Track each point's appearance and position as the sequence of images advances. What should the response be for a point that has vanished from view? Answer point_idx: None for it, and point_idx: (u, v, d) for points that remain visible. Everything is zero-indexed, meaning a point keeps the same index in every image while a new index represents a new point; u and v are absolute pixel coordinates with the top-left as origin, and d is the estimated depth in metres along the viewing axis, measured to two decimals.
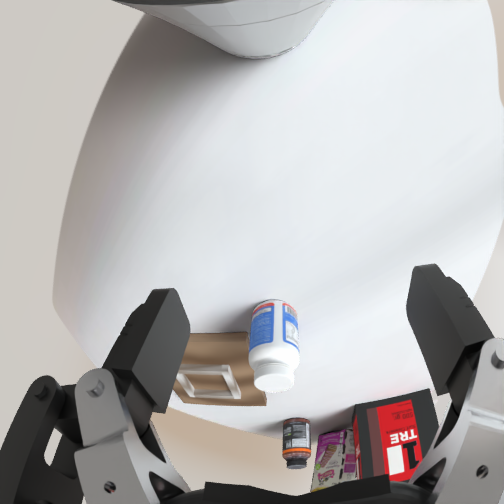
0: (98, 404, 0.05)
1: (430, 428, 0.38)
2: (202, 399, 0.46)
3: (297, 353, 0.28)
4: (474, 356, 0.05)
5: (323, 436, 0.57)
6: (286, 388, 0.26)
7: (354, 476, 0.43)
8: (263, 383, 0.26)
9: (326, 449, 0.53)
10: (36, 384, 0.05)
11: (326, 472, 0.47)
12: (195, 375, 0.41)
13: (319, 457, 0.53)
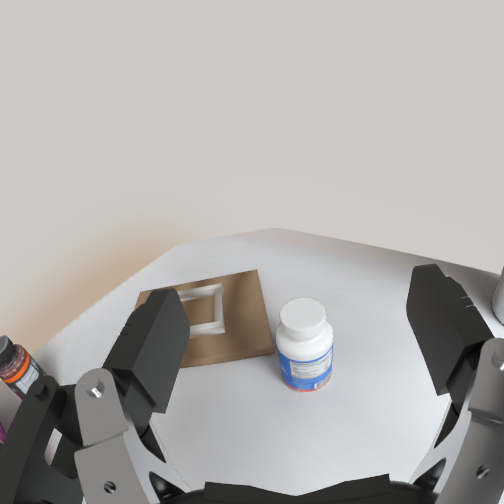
0: (98, 404, 0.05)
1: None
2: None
3: (321, 352, 0.23)
4: (474, 356, 0.05)
5: None
6: (292, 324, 0.23)
7: None
8: (302, 304, 0.25)
9: None
10: (36, 384, 0.05)
11: None
12: (201, 305, 0.40)
13: None
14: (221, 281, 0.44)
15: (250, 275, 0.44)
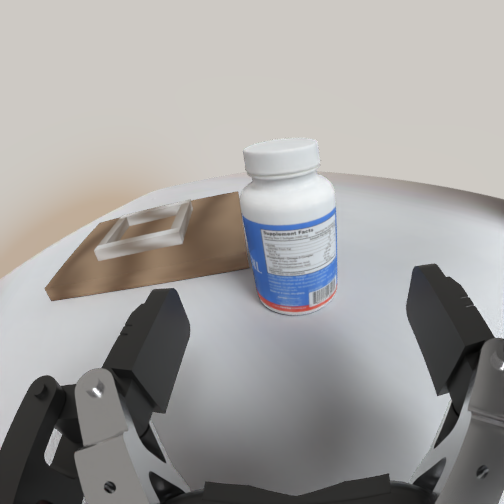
0: (98, 404, 0.05)
1: None
2: (100, 233, 0.32)
3: (315, 209, 0.14)
4: (474, 356, 0.05)
5: None
6: (261, 150, 0.13)
7: None
8: (280, 140, 0.15)
9: None
10: (35, 384, 0.05)
11: None
12: (161, 223, 0.30)
13: None
14: (192, 203, 0.35)
15: (229, 196, 0.35)
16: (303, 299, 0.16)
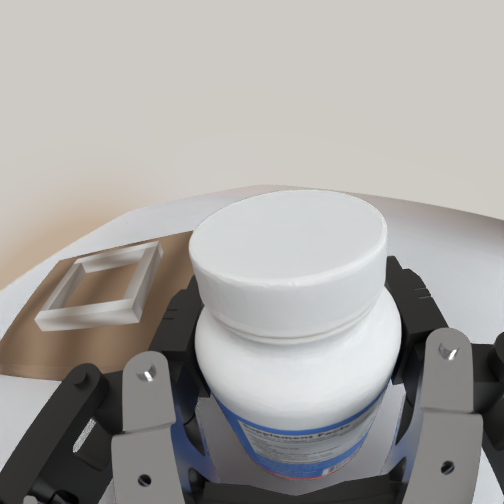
0: (146, 389, 0.05)
1: None
2: (55, 280, 0.23)
3: (364, 398, 0.05)
4: (423, 345, 0.06)
5: None
6: (232, 262, 0.05)
7: None
8: (287, 201, 0.06)
9: None
10: (77, 372, 0.06)
11: None
12: (121, 275, 0.22)
13: None
14: (165, 242, 0.26)
15: None
16: (313, 474, 0.07)
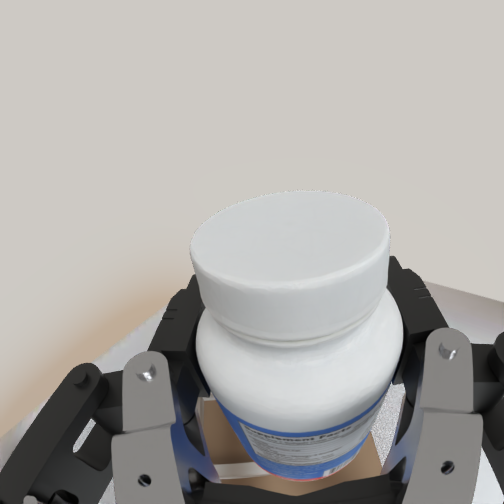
0: (146, 389, 0.05)
1: None
2: None
3: (366, 400, 0.05)
4: (423, 345, 0.06)
5: None
6: (234, 264, 0.05)
7: None
8: (289, 202, 0.06)
9: None
10: (77, 372, 0.06)
11: None
12: None
13: None
14: None
15: None
16: (314, 475, 0.07)
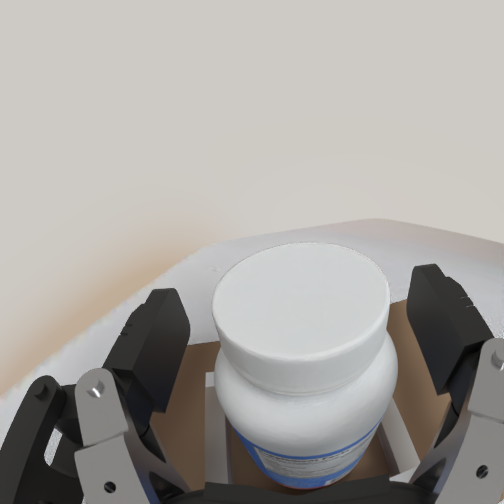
0: (97, 404, 0.05)
1: None
2: None
3: (362, 431, 0.05)
4: (474, 356, 0.05)
5: None
6: (254, 334, 0.05)
7: None
8: (300, 259, 0.07)
9: None
10: (36, 384, 0.05)
11: None
12: None
13: None
14: None
15: None
16: (316, 485, 0.08)
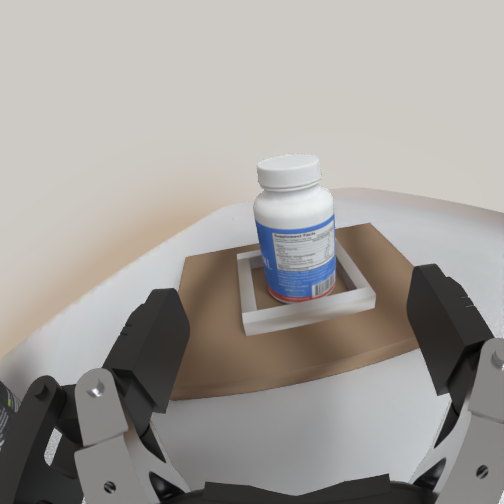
0: (97, 405, 0.05)
1: None
2: (204, 278, 0.25)
3: (317, 216, 0.16)
4: (474, 356, 0.05)
5: None
6: (273, 167, 0.16)
7: None
8: (287, 157, 0.18)
9: None
10: (36, 384, 0.05)
11: None
12: None
13: None
14: None
15: (366, 229, 0.28)
16: (307, 291, 0.19)
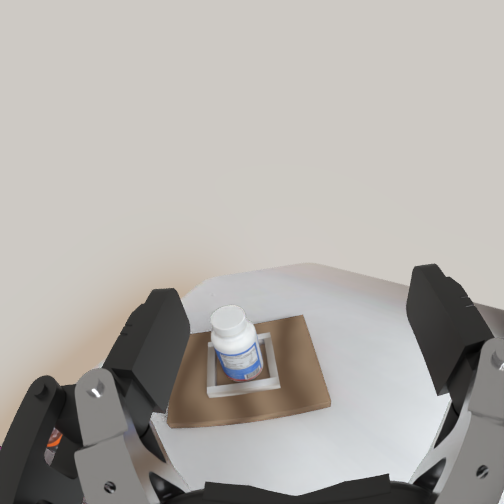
0: (97, 404, 0.05)
1: None
2: (189, 355, 0.39)
3: (242, 348, 0.30)
4: (474, 356, 0.05)
5: None
6: (217, 325, 0.30)
7: None
8: (229, 309, 0.32)
9: None
10: (36, 384, 0.05)
11: None
12: None
13: None
14: (267, 328, 0.42)
15: (297, 322, 0.42)
16: (241, 377, 0.33)
